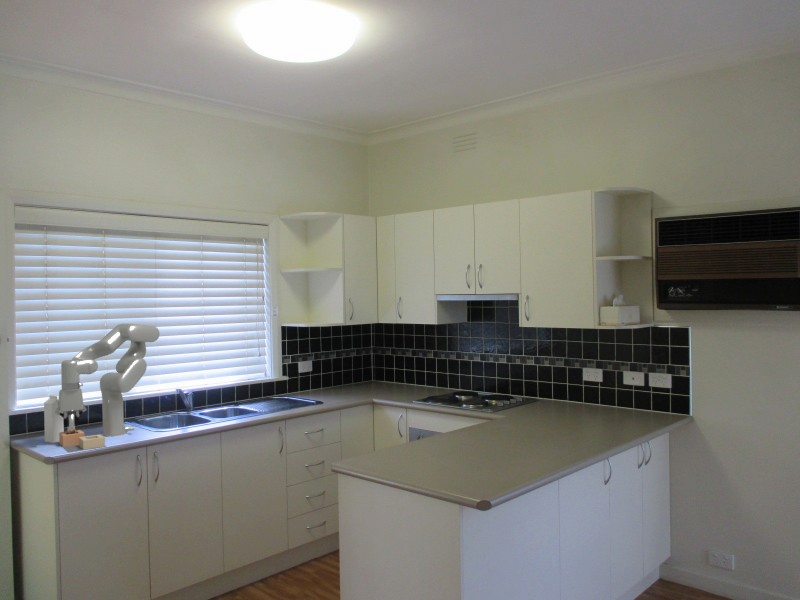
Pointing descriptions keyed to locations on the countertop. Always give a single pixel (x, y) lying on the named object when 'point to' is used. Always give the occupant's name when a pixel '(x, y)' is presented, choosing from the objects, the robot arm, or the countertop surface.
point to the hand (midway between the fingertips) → (71, 425)
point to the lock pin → (71, 422)
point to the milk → (52, 420)
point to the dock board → (80, 441)
